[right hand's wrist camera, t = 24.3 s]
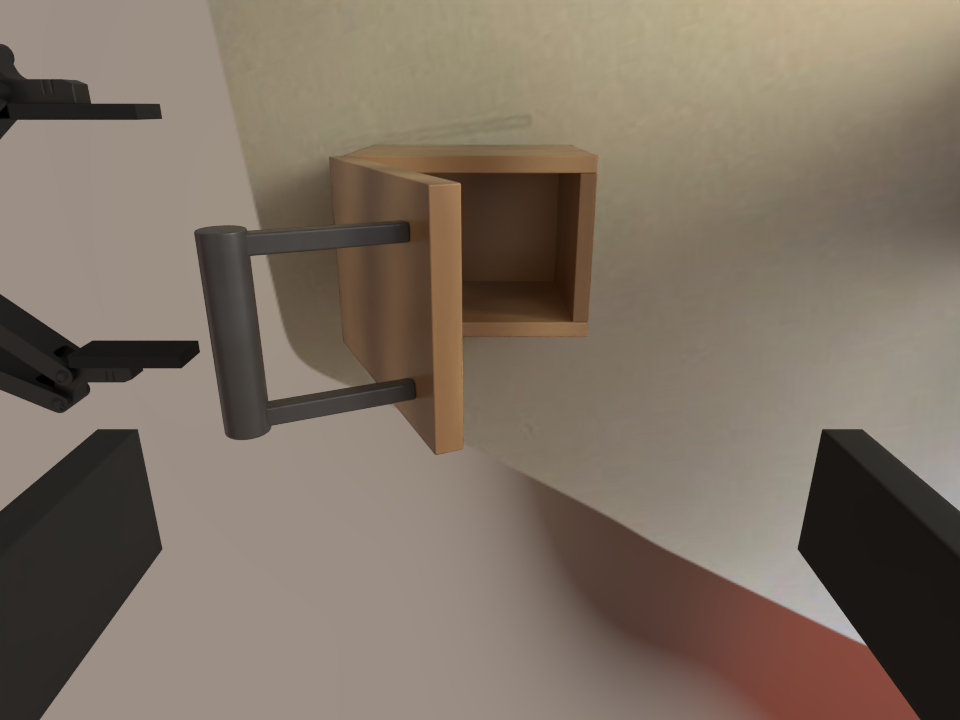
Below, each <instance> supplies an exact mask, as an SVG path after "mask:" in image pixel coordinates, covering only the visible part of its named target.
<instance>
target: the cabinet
mask: <svg viewBox="0 0 960 720" xmlns="http://www.w3.org/2000/svg"><path fill="white" fill-rule="evenodd" d="M345 156H352V157H356V158H360V159H364V160H368V161H373V162H377V163H381V164H385V165H389V166H393V167H397V168H401V169H405V170H409V171H413V172H418V173H422V174H426V175H430V176H434V177H438V178H442V179H446V180H450V181H454V182H458V183H460V184H461V258H462V337H586V336H587V330H588V314H589V298H590V282H591V265H592V249H593V233H594V217H595V200H596V184H597V167H598V156H597V155H594V154H592V153H589V152H587V151H584V150H582V149H579V148H577V147H574V146H572V145H373V146H370V147H367V148H364V149H362V150H359V151H356V152H353V153H350V154H347V155H345Z"/></svg>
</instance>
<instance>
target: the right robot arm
mask: <svg viewBox="0 0 960 720" xmlns="http://www.w3.org/2000/svg"><path fill="white" fill-rule="evenodd" d="M161 550H162V545H161V540H160V536H159V531H158V526H157V521H156V516H155V511H154V506H153V501H152V497H151V492H150V487H149V482H148V477H147V472H146V467H145V462H144V458H143V453H142V448H141V443H140V438H139V433H138V430H137V429H98V430H96V431H95V432H94V433H93V434H92V435H90V436H89V437H88V438H87V439H86V440H85V441H83V442H82V443H81V444H80V445H79V446H77V447H76V448H75V449H74V450H73V451H71V452H70V453H69V454H68V455H67V456H66V457H64V458H63V459H62V460H61V461H60V462H58V463H57V464H56V465H55V466H54V467H52V468H51V469H50V470H49V471H48V472H47V473H45V474H44V475H43V476H42V477H41V478H39V479H38V480H37V481H36V482H35V483H33V484H32V485H31V486H30V487H29V488H28V489H26V490H25V491H24V492H23V493H22V494H20V495H19V496H18V497H17V498H16V499H14V500H13V501H12V502H11V503H10V504H8V505H7V506H6V507H5V508H4V509H3V510H1V511H0V720H40V718H41V717H42V716H43V714H44V713H45V711H46V710H47V709H48V707H49V706H50V704H51V703H52V702H53V700H54V699H55V697H56V696H57V695H58V693H59V692H60V691H61V689H62V688H63V686H64V685H65V684H66V682H67V681H68V679H69V678H70V677H71V675H72V674H73V672H74V671H75V670H76V668H77V667H78V666H79V664H80V663H81V661H82V660H83V659H84V657H85V656H86V654H87V653H88V652H89V650H90V649H91V647H92V646H93V645H94V643H95V642H96V641H97V639H98V638H99V636H100V635H101V634H102V632H103V631H104V629H105V628H106V627H107V625H108V624H109V622H110V621H111V620H112V618H113V617H114V616H115V614H116V613H117V611H118V610H119V609H120V607H121V606H122V604H123V603H124V602H125V600H126V599H127V597H128V596H129V595H130V593H131V592H132V591H133V589H134V588H135V586H136V585H137V584H138V582H139V581H140V579H141V578H142V577H143V575H144V574H145V572H146V571H147V570H148V568H149V567H150V566H151V564H152V563H153V561H154V560H155V559H156V557H157V556H158V554H159V553H160V552H161ZM798 550H799V552H800V553H801V554H802V556H803V557H804V559H805V560H806V561H807V563H808V564H809V566H810V567H811V568H812V570H813V571H814V572H815V574H816V575H817V577H818V578H819V579H820V581H821V582H822V584H823V585H824V586H825V588H826V589H827V591H828V592H829V593H830V595H831V596H832V597H833V599H834V600H835V602H836V603H837V604H838V606H839V607H840V609H841V610H842V611H843V613H844V614H845V616H846V617H847V618H848V620H849V621H850V622H851V624H852V625H853V627H854V628H855V629H856V631H857V632H858V634H859V635H860V636H861V638H862V639H863V641H864V642H865V643H866V645H867V646H868V647H869V649H870V650H871V652H872V653H873V654H874V656H875V657H876V659H877V660H878V661H879V663H880V664H881V666H882V667H883V668H884V670H885V671H886V672H887V674H888V675H889V677H890V678H891V679H892V681H893V682H894V684H895V685H896V686H897V688H898V689H899V691H900V692H901V693H902V695H903V696H904V697H905V699H906V700H907V702H908V703H909V704H910V706H911V707H912V709H913V710H914V711H915V713H916V714H917V716H918V717H919V718H920V720H960V511H959V510H957V509H956V508H955V507H954V506H953V505H952V504H950V503H949V502H948V501H947V500H946V499H944V498H943V497H942V496H941V495H940V494H938V493H937V492H936V491H935V490H934V489H933V488H931V487H930V486H929V485H928V484H927V483H925V482H924V481H923V480H922V479H921V478H919V477H918V476H917V475H916V474H915V473H913V472H912V471H911V470H910V469H909V468H908V467H906V466H905V465H904V464H903V463H902V462H900V461H899V460H898V459H897V458H896V457H894V456H893V455H892V454H891V453H890V452H889V451H887V450H886V449H885V448H884V447H883V446H881V445H880V444H879V443H878V442H877V441H875V440H874V439H873V438H872V437H871V436H869V435H868V434H867V433H866V432H865V431H864V430H862V429H822V433H821V438H820V443H819V448H818V453H817V458H816V462H815V467H814V472H813V477H812V482H811V487H810V492H809V496H808V501H807V506H806V511H805V516H804V521H803V526H802V530H801V535H800V540H799V545H798Z"/></svg>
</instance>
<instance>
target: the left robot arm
mask: <svg viewBox="0 0 960 720" xmlns="http://www.w3.org/2000/svg"><path fill="white" fill-rule="evenodd" d="M140 119H162V115H161V109H160V104H91V101H90V96H89V91H88V86H87V84H85V83H82V82H80V81H77V80H62V79H26V78H24V77H22V76H21V75H20V74H19V73H18V71H17V70H16V68H15V66H14V55H13V52H12V51H11V50H10V48H9V47H7V46H6V45H3V44H0V139H1V138H2V137H3V135H4V134H5V133H6V132H7V131H8V130H9V129H10V127H11V126H12V125H13V124H14V123H15V122H16V121H17V120H140ZM199 352H200V350H199V344H198V341H91V342H90V343H88V344H86V345H85V346H83V347H81V348H79V347H78V346H76V345H75V344H73V343H72V342H70V341H69V340H67V339H66V338H64V337H63V336H61V335H60V334H58V333H57V332H56V331H54V330H53V329H51V328H50V327H48V326H47V325H45V324H44V323H42V322H41V321H39V320H38V319H36V318H35V317H33V316H32V315H30V314H29V313H27V312H26V311H24V310H23V309H21V308H20V307H18V306H17V305H15V304H14V303H13V302H11V301H10V300H8V299H7V298H5V297H4V296H2V295H1V294H0V390H3V391H5V392H7V393H10V394H12V395H15V396H17V397H20V398H22V399H25V400H27V401H29V402H32V403H34V404H37V405H39V406H42V407H44V408H47V409H49V410H52V411H54V412H57V413H63V412H65V411H66V410H68V409H69V408H70V407H72V406H73V405H75V404H76V403H77V402H79V401H80V400H81V399H83V398H84V397H85V396H87V395H88V394H89V392H90V387H89V385H88V382H126V381H129V380H131V379H133V378H134V377H135V376H137V375H138V374H139V373H141V372H142V371H143V368H182V367H183V366H185V365H186V364H187V363H188V362H189V361H190V360H191V359H193V358H194V357H195V356H196V355H197V354H198V353H199Z"/></svg>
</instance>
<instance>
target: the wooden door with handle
mask: <svg viewBox="0 0 960 720" xmlns="http://www.w3.org/2000/svg"><path fill="white" fill-rule="evenodd" d="M329 161H330V174H331V187H332V200H333V213H334V225H325V226H311V227H296V228H282V229H268V230H253V231H247V229H246V228H245V227H242V226H212V227H205V228H200V229H197V230H195V232H194V234H195V241H196V247H197V254H198V260H199V267H200V273H201V280H202V286H203V293H204V299H205V306H206V312H207V319H208V325H209V332H210V338H211V345H212V351H213V358H214V364H215V371H216V377H217V384H218V391H219V397H220V404H221V410H222V417H223V423H224V430H225V434H226V436H227V437H229V438H231V439H235V440H248V439H253V438H257V437H260V436H262V435H264V434H266V433H267V432H269V430H270V429H271V426H272V425H277V424H283V423H288V422H294V421H299V420H305V419H310V418H316V417H321V416H326V415H332V414H337V413H343V412H348V411H354V410H359V409H365V408H370V407H376V406H381V405H387V404H392V403H394V405H395V406H396V407H397V408H398V409H399V411H400V412H401V413H402V414H403V416H404V417H405V418H406V419H407V421H408V422H409V423H410V424H411V425H412V427H413V428H414V429H415V430H416V432H417V433H418V434H419V435H420V436H421V438H422V439H423V440H424V441H425V443H426V444H427V445H428V446H429V447H430V449H431V450H432V451H433V453H434V454H435V455H438V454H443V453H447V452H452V451H457V450H461V449H463V360H462V258H461V184H460V183H458V182H454V181H450V180H446V179H442V178H438V177H434V176H430V175H426V174H422V173H418V172H413V171H409V170H405V169H401V168H397V167H393V166H389V165H385V164H381V163H377V162H373V161H368V160H364V159H360V158H356V157H352V156H341V157H329ZM326 249H336V252H337V264H338V277H339V290H340V303H341V316H342V329H343V342H344V343H345V344H346V346H347V347H348V348H349V349H350V350H351V352H352V353H353V354H354V355H355V357H356V358H357V359H358V360H359V362H360V363H361V364H362V365H363V366H364V368H365V369H366V370H367V371H368V373H369V374H370V375H371V376H372V378H373V379H374V380H375V381H376V382H377V383H374V384H368V385H362V386H356V387H350V388H344V389H338V390H333V391H327V392H321V393H315V394H309V395H303V396H297V397H291V398H285V399H279V400H273V401H268V396H267V388H266V380H265V372H264V364H263V356H262V348H261V340H260V332H259V324H258V316H257V308H256V300H255V292H254V284H253V276H252V268H251V260H250V256H254V255H266V254H278V253H290V252H302V251H314V250H326Z"/></svg>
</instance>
